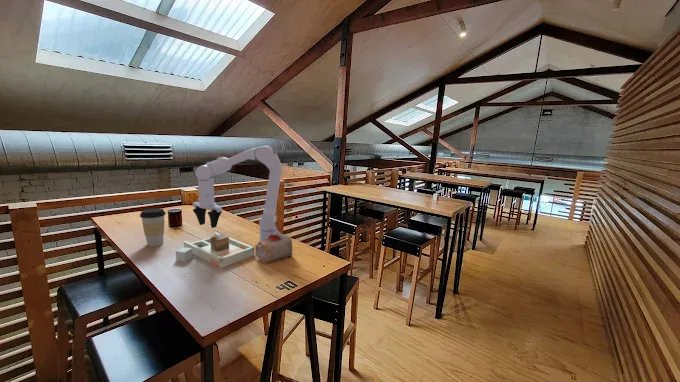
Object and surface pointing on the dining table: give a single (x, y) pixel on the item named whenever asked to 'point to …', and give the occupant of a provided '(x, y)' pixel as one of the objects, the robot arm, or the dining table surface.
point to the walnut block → (219, 242)
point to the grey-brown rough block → (274, 248)
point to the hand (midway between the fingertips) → (208, 225)
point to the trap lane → (221, 252)
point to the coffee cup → (153, 225)
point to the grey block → (184, 254)
